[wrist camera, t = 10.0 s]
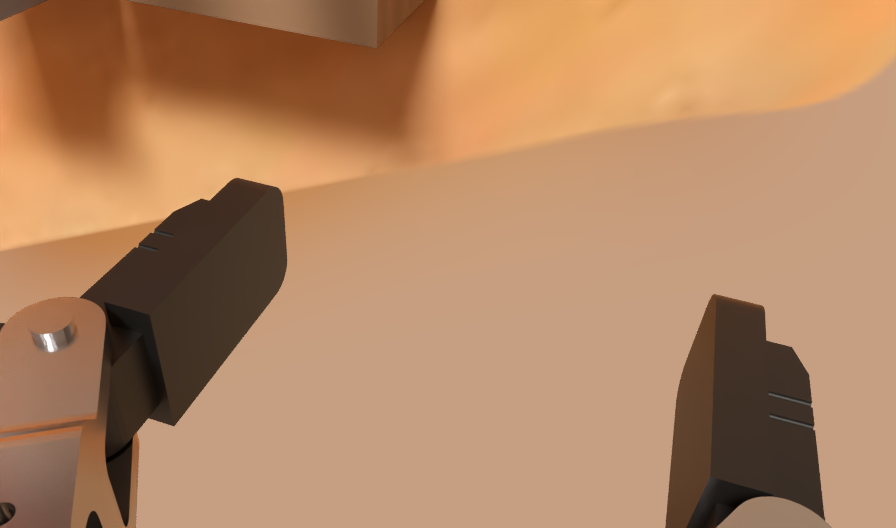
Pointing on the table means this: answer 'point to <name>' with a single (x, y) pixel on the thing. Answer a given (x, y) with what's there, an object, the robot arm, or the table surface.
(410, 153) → the table surface
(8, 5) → the socket end cap
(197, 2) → the walnut slat
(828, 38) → the table surface
